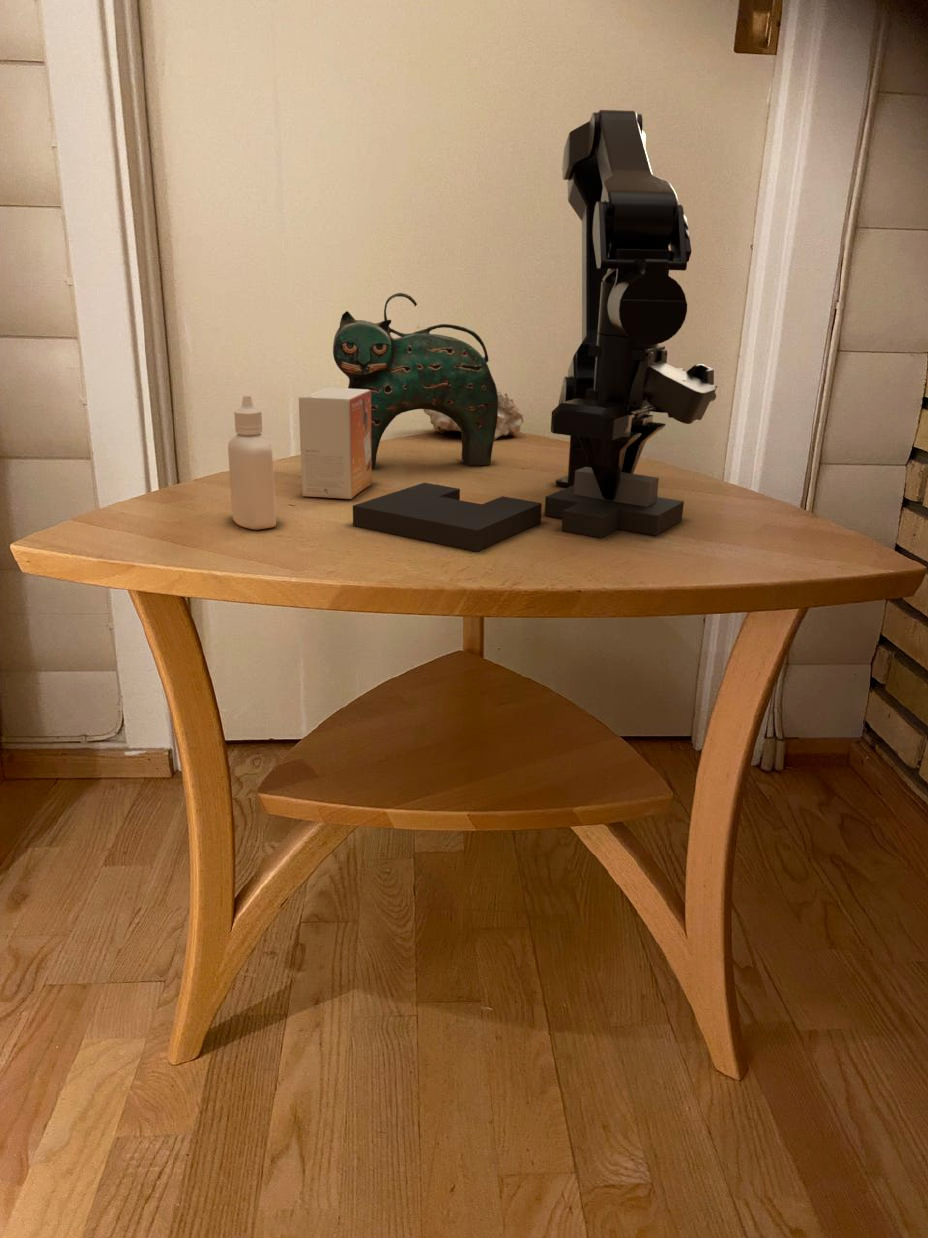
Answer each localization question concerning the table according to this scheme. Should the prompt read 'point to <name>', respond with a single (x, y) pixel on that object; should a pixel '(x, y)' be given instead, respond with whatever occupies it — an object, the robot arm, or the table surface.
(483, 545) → the charcoal pad
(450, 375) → the ceramic cat
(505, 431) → the seashell
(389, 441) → the table surface
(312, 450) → the small box
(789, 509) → the table surface
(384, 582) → the table surface
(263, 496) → the eye dropper bottle
